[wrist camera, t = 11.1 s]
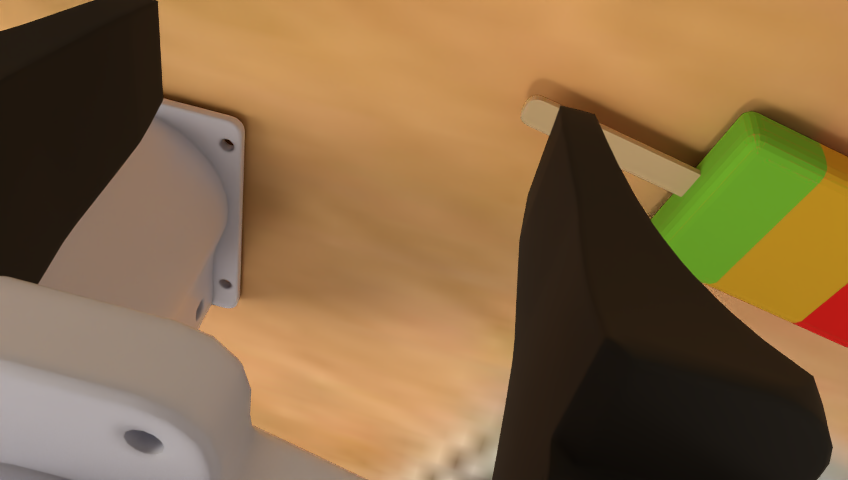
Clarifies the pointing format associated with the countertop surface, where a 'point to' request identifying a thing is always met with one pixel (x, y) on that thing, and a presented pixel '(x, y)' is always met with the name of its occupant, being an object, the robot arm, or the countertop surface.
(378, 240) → the countertop surface
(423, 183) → the countertop surface
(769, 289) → the popsicle
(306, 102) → the countertop surface
